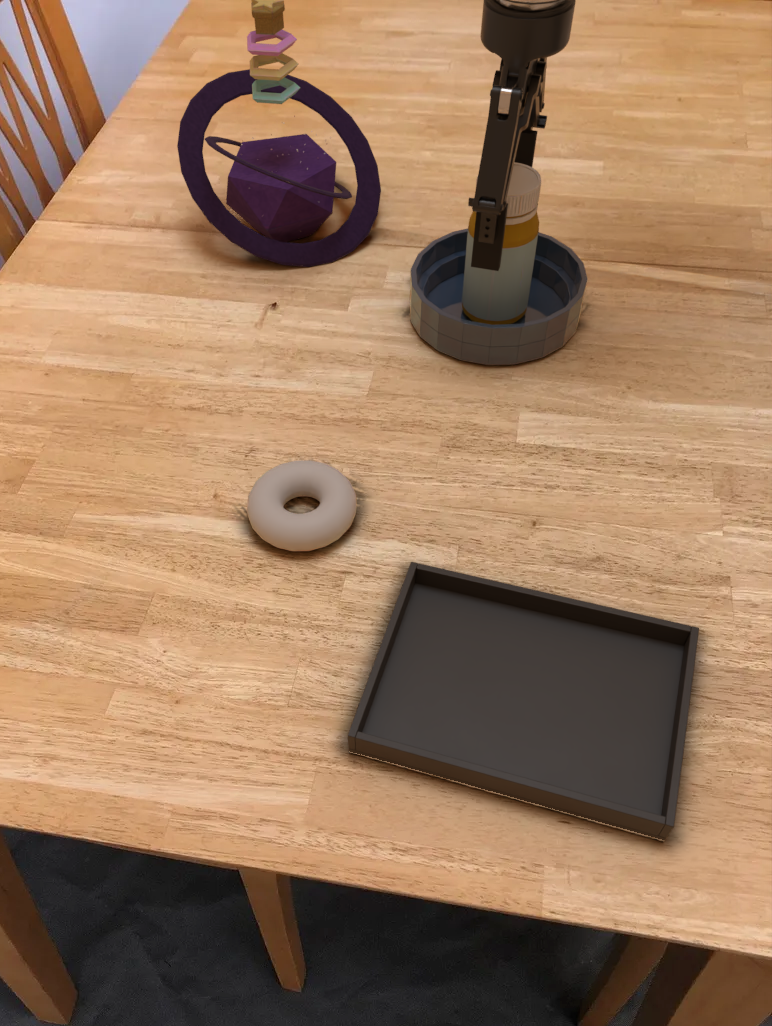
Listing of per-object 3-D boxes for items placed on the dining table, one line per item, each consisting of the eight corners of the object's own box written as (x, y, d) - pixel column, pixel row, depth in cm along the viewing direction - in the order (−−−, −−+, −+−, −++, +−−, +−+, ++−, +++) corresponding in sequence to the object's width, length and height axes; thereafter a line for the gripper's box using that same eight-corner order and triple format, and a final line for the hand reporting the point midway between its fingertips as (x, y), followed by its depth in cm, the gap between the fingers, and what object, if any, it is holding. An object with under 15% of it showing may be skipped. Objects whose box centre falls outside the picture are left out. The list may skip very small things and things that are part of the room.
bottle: (465, 289, 103) (476, 157, 91) (528, 294, 102) (548, 161, 90) (457, 327, 99) (468, 195, 87) (523, 333, 98) (543, 200, 86)
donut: (238, 554, 82) (348, 564, 81) (232, 528, 80) (346, 538, 78) (262, 474, 88) (365, 482, 87) (257, 448, 86) (364, 455, 84)
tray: (689, 647, 74) (699, 627, 72) (664, 843, 64) (674, 827, 62) (410, 581, 79) (411, 561, 77) (348, 753, 70) (347, 735, 68)
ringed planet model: (225, 299, 105) (189, 66, 85) (174, 209, 117) (132, -14, 97) (405, 250, 109) (410, 16, 89) (338, 167, 121) (330, -54, 101)
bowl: (591, 278, 104) (599, 238, 100) (561, 381, 94) (569, 340, 90) (434, 255, 108) (436, 215, 104) (389, 351, 98) (390, 311, 94)
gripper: (516, -68, 84) (491, 161, 101) (448, 53, 70) (432, 294, 87) (600, -61, 82) (560, 170, 99) (547, 64, 68) (511, 308, 85)
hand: (500, 228), depth 93 cm, fingers open, 13 cm apart
